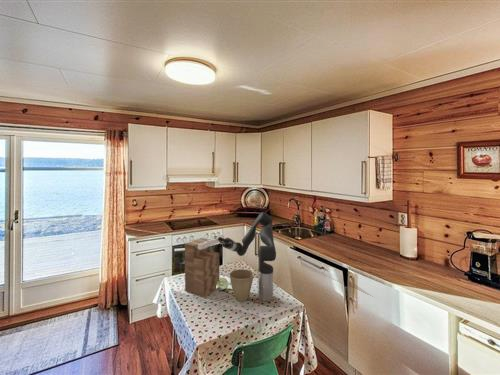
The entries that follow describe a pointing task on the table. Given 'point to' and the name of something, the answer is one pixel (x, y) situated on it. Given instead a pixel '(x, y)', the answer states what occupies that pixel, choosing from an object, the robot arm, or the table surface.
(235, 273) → the plant pot
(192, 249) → the walnut stand
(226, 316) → the table surface
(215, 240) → the aluminium bar
